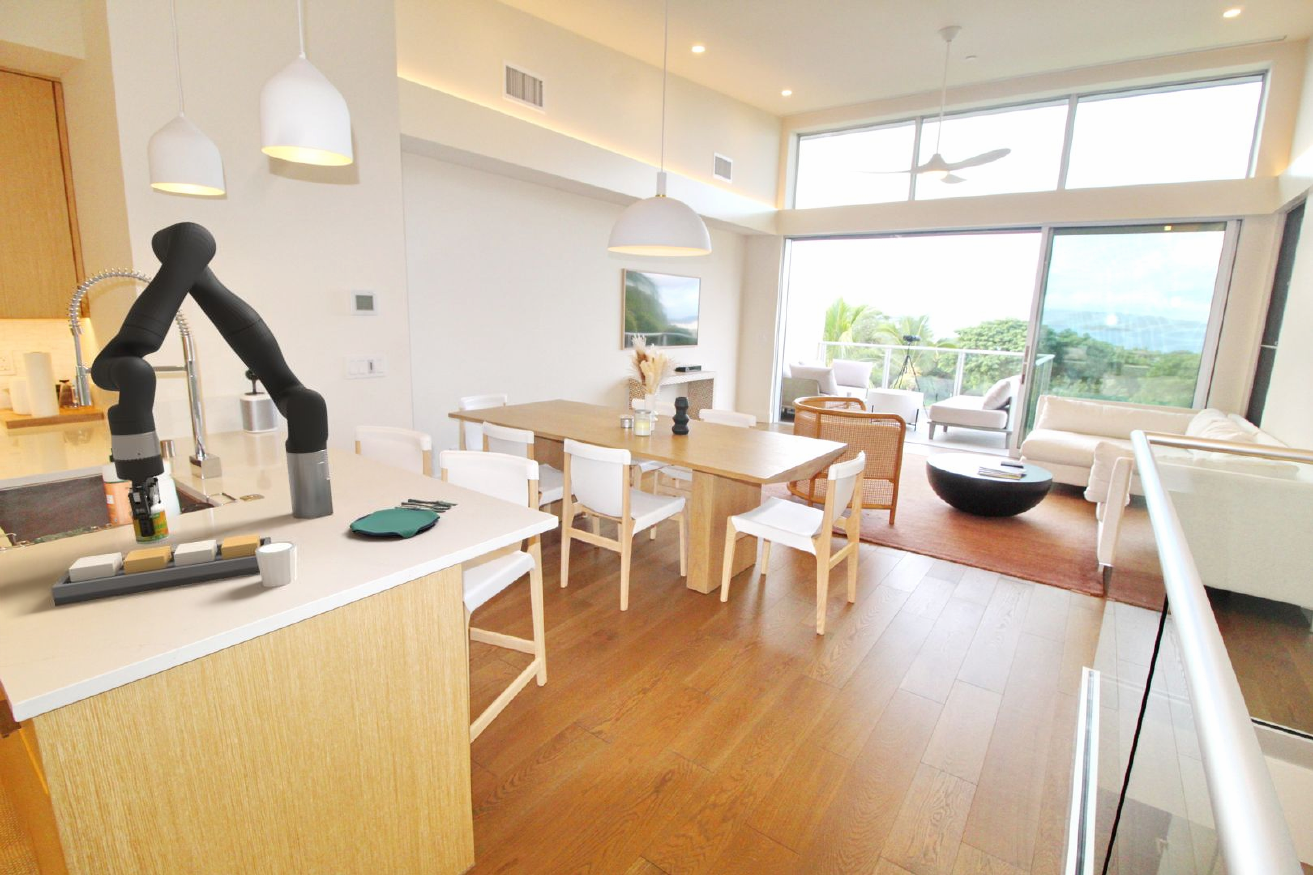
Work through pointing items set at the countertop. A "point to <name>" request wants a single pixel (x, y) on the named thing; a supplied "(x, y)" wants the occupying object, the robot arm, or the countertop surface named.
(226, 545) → the key
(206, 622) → the countertop surface
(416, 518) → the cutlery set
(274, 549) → the white cup
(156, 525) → the supplement bottle
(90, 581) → the keypad base
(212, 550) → the key
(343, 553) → the countertop surface
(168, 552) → the key
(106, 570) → the key
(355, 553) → the countertop surface
